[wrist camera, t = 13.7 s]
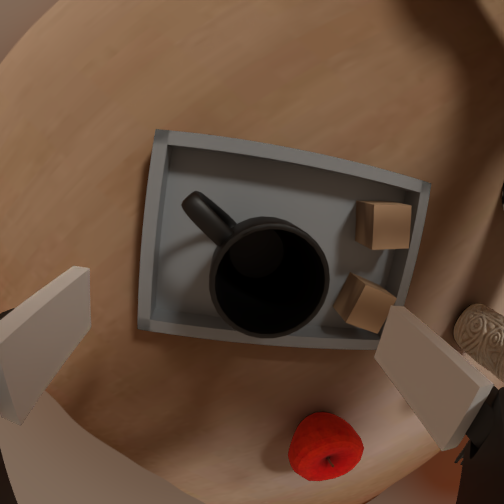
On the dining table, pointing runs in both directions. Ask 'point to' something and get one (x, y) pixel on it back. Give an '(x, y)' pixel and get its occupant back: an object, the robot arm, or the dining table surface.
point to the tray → (269, 205)
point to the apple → (324, 447)
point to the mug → (261, 270)
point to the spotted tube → (503, 196)
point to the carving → (482, 337)
